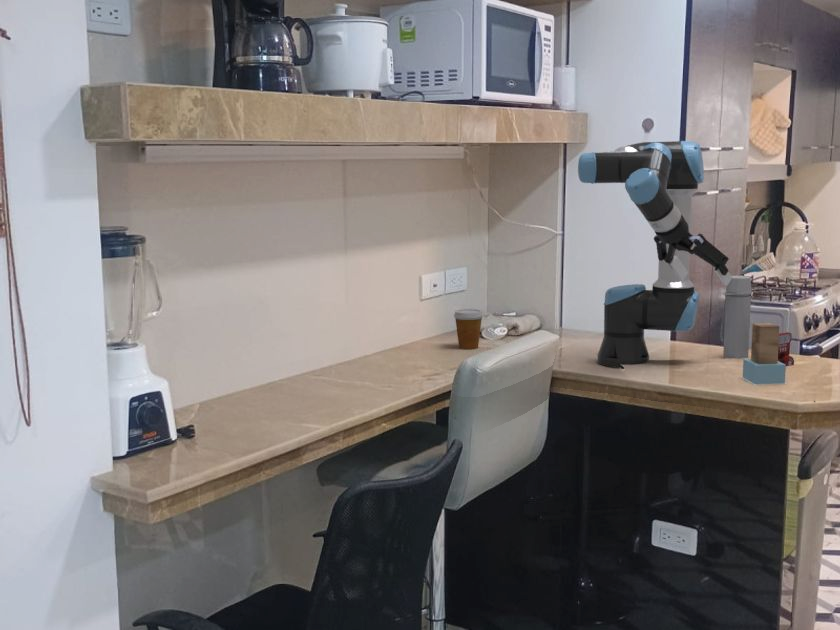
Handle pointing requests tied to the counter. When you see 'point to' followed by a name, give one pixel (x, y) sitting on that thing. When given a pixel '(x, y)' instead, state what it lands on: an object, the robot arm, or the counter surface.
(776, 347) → the walnut block
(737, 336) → the water bottle
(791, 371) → the counter surface
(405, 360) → the counter surface
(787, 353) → the toy fire truck
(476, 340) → the disposable coffee cup
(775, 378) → the teal block
